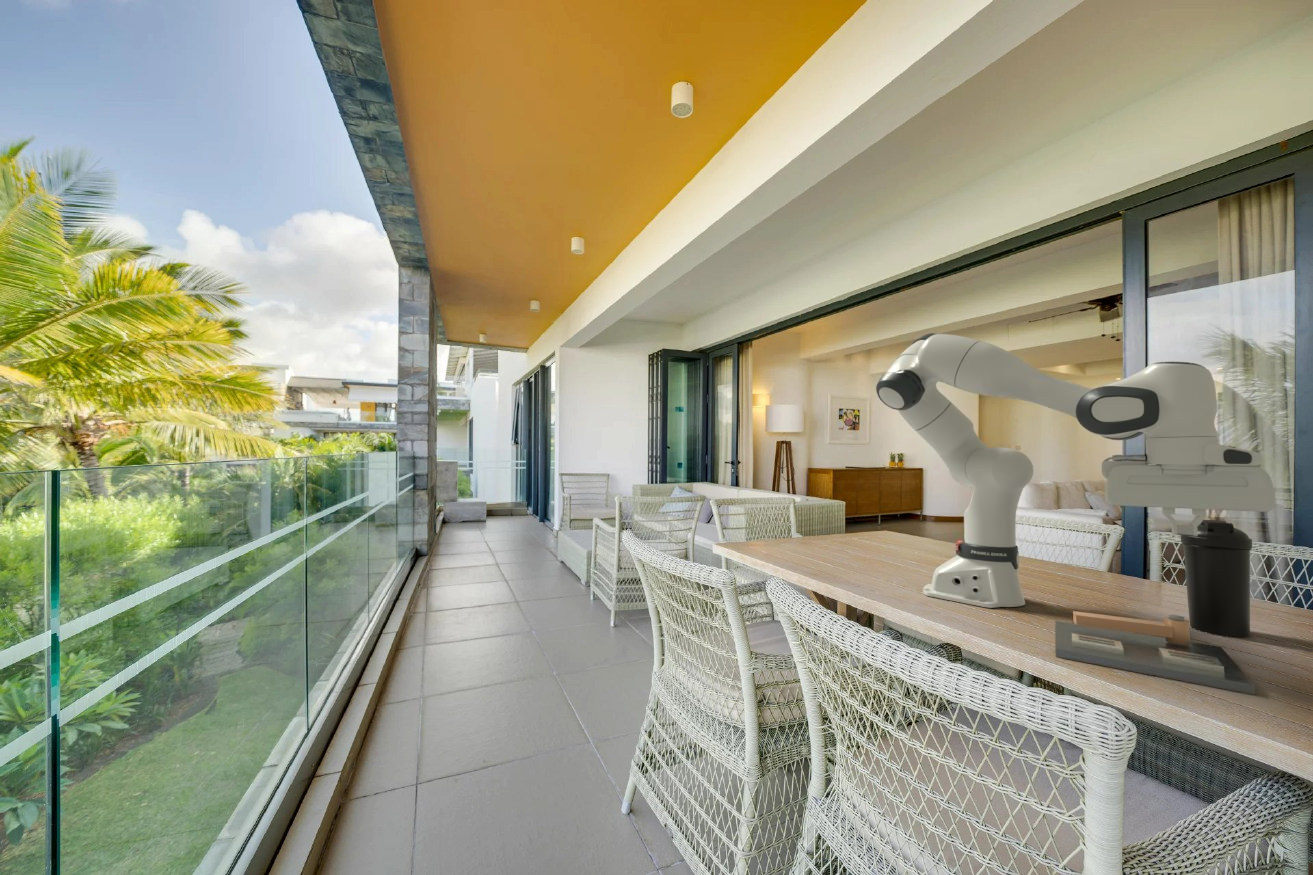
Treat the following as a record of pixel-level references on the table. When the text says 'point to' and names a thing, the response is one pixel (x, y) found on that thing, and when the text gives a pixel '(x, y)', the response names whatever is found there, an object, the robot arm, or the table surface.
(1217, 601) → the water bottle
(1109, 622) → the swing bar
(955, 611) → the table surface
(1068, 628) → the label panel
